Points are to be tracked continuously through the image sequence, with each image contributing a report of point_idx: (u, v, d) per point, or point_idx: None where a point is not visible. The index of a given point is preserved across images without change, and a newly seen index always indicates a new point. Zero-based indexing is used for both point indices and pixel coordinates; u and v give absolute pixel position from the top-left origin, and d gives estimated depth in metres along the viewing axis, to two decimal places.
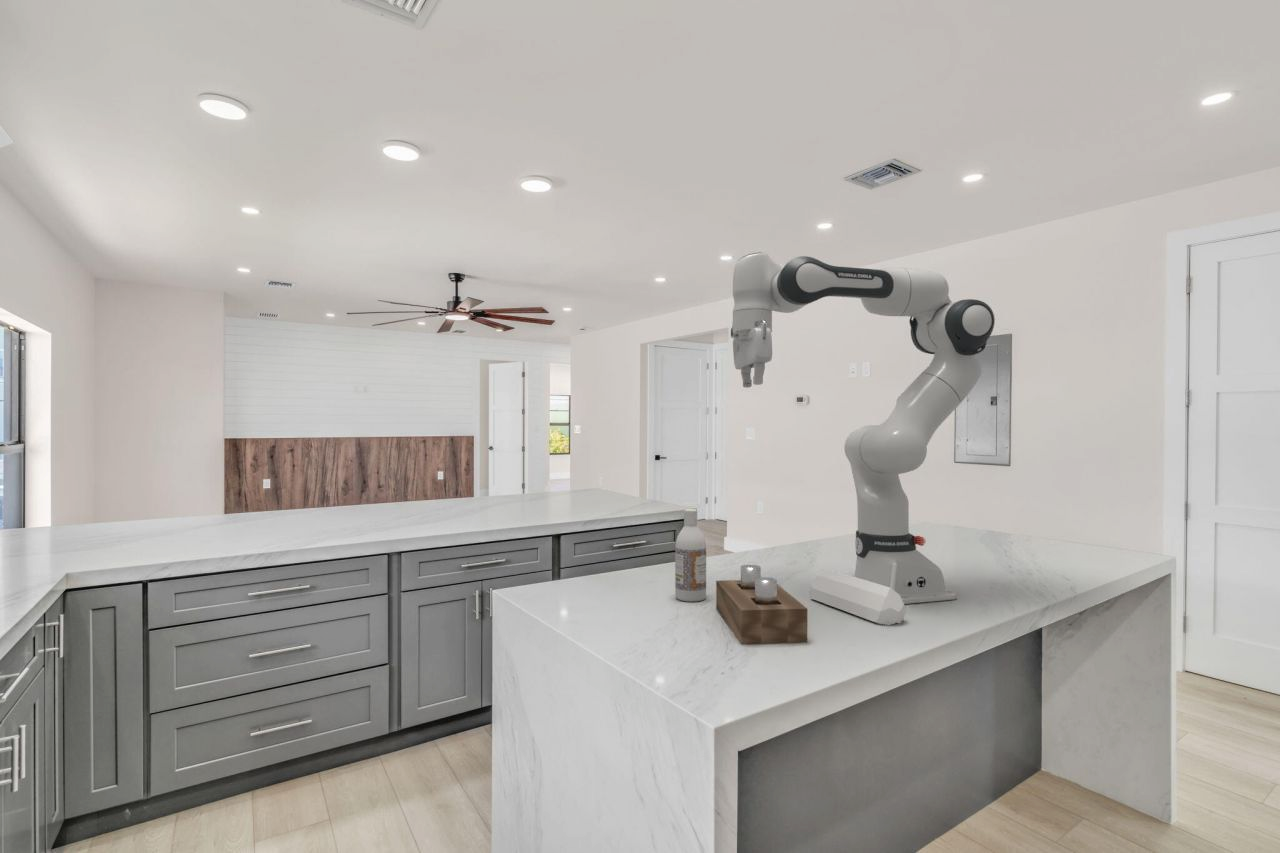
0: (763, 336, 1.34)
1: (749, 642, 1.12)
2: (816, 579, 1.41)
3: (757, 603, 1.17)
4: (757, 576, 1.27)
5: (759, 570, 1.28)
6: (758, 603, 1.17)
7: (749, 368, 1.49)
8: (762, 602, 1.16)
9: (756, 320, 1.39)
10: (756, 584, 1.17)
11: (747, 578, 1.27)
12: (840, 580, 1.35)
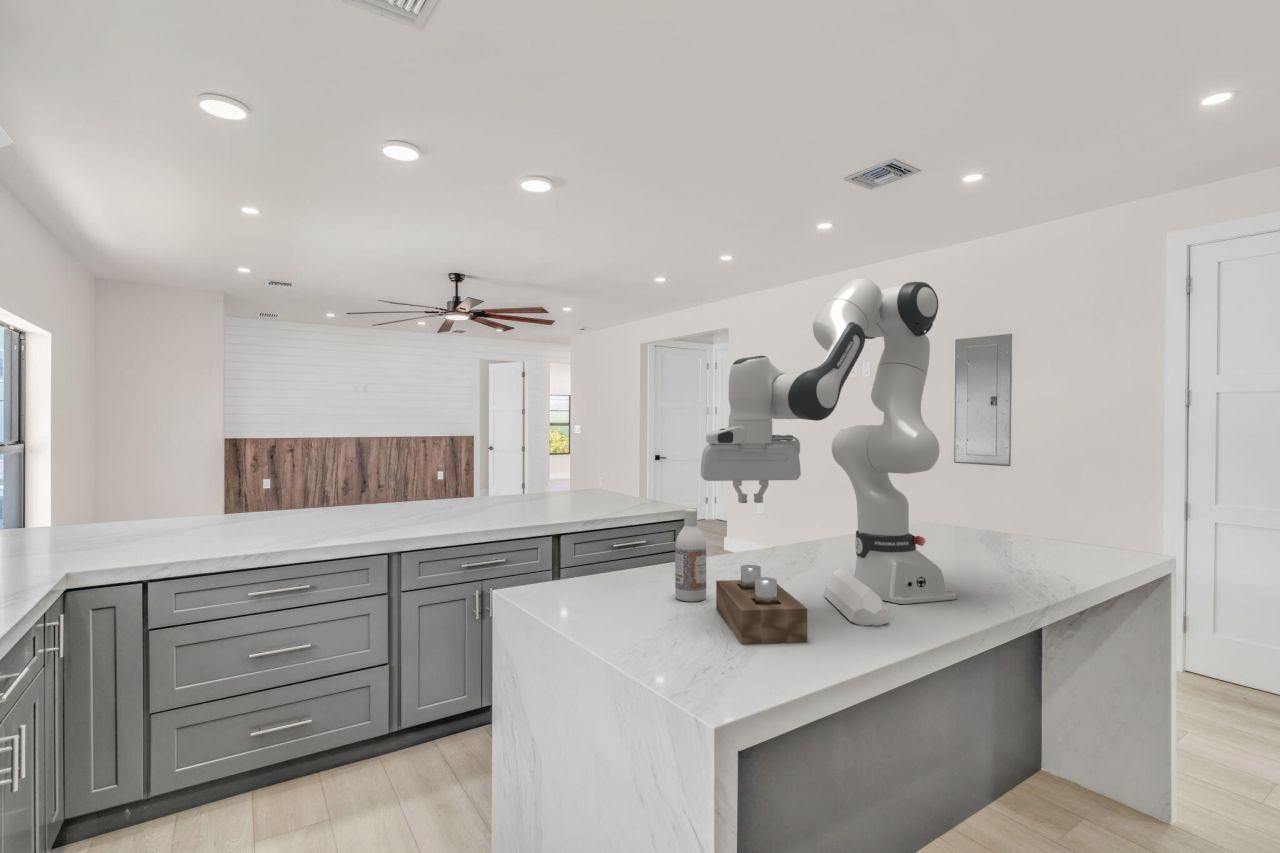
0: (798, 454, 1.29)
1: (749, 642, 1.12)
2: (830, 577, 1.43)
3: (757, 603, 1.17)
4: (757, 576, 1.27)
5: (759, 570, 1.28)
6: (758, 603, 1.17)
7: None
8: (762, 602, 1.16)
9: None
10: (756, 584, 1.17)
11: (747, 578, 1.27)
12: (843, 579, 1.36)
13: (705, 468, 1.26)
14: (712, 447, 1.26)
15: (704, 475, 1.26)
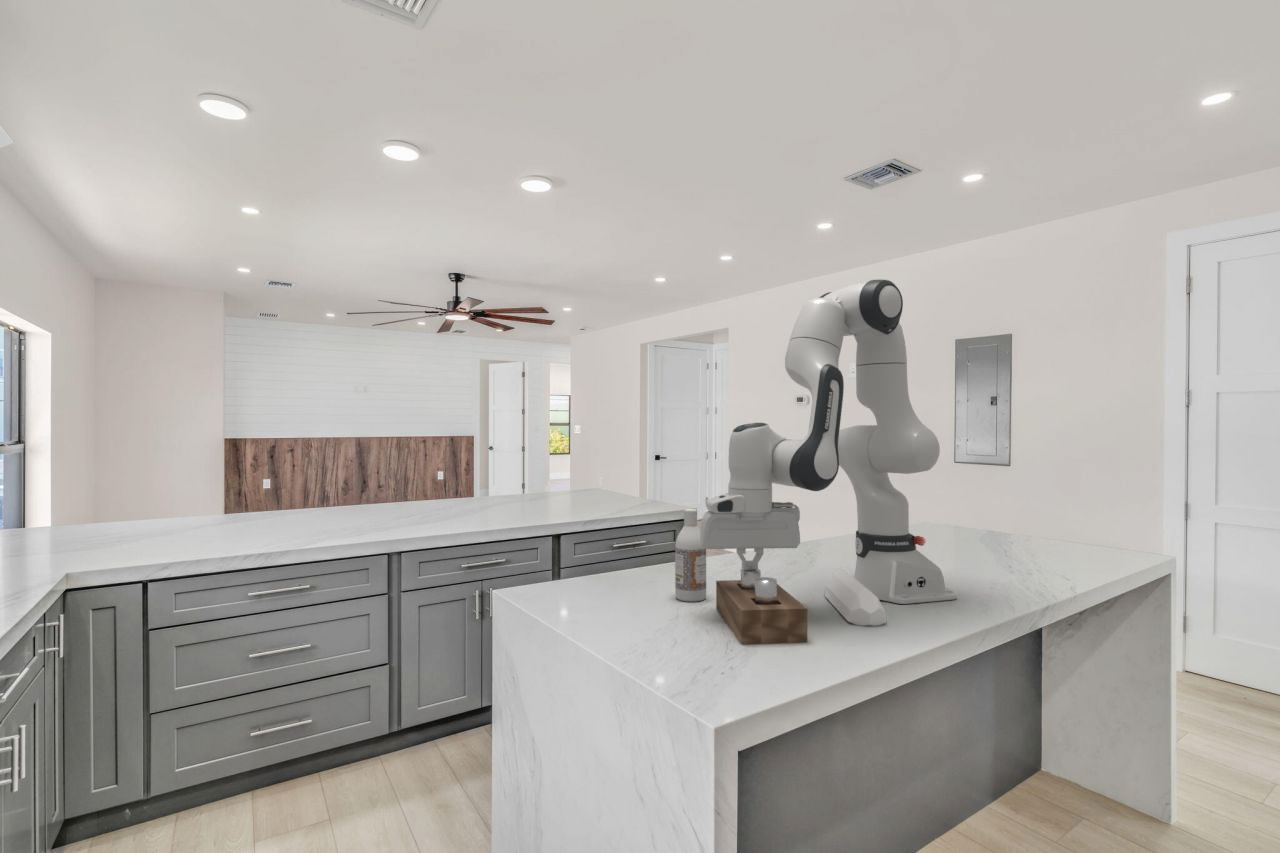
0: (797, 521, 1.29)
1: (749, 642, 1.12)
2: (831, 577, 1.43)
3: (757, 603, 1.17)
4: None
5: (759, 573, 1.28)
6: (758, 603, 1.17)
7: None
8: (762, 602, 1.16)
9: None
10: (756, 584, 1.17)
11: (747, 582, 1.27)
12: (843, 579, 1.36)
13: (704, 536, 1.26)
14: (712, 516, 1.26)
15: (703, 543, 1.26)
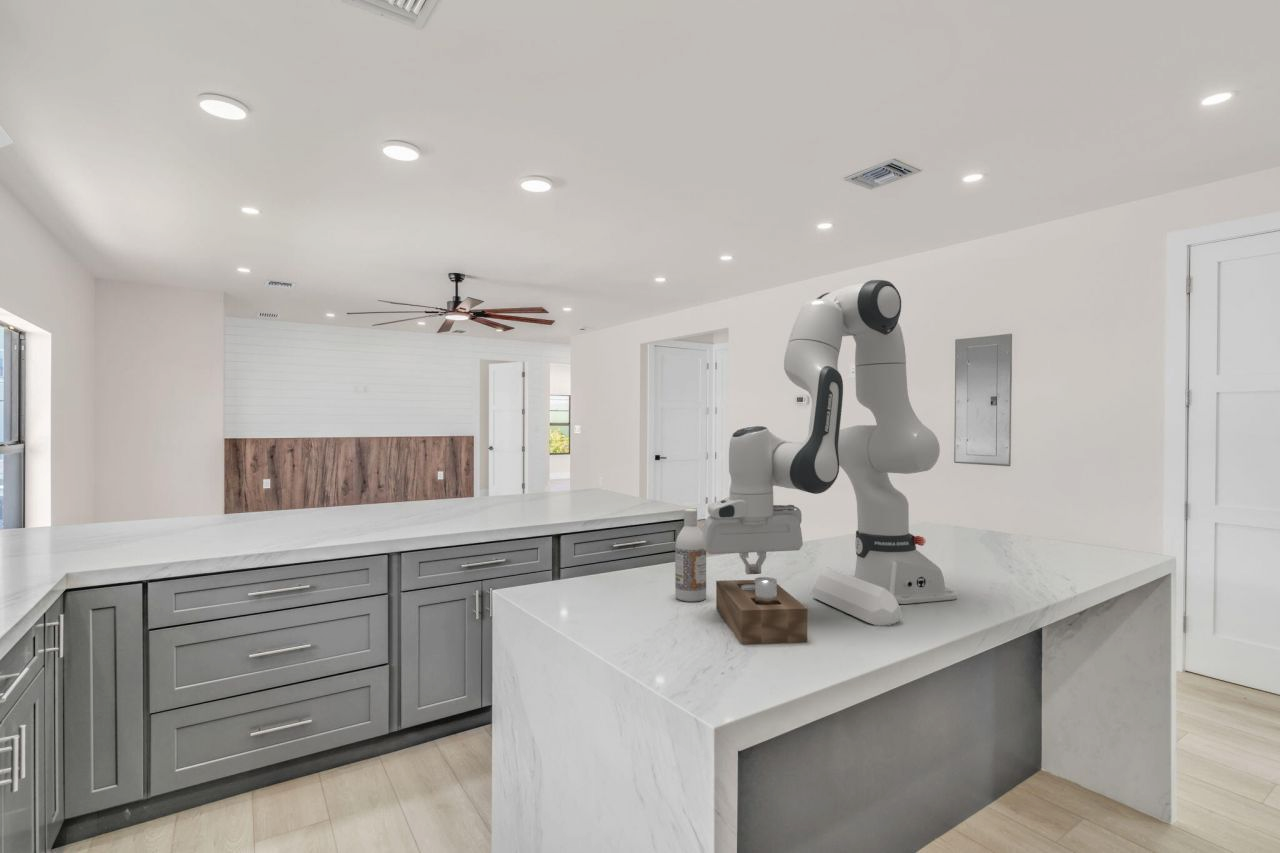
0: (799, 523, 1.30)
1: (749, 642, 1.12)
2: (819, 578, 1.41)
3: (757, 603, 1.17)
4: None
5: None
6: (758, 603, 1.17)
7: None
8: (762, 602, 1.16)
9: None
10: (756, 584, 1.17)
11: None
12: (840, 580, 1.35)
13: (707, 542, 1.26)
14: (714, 521, 1.26)
15: (706, 549, 1.27)
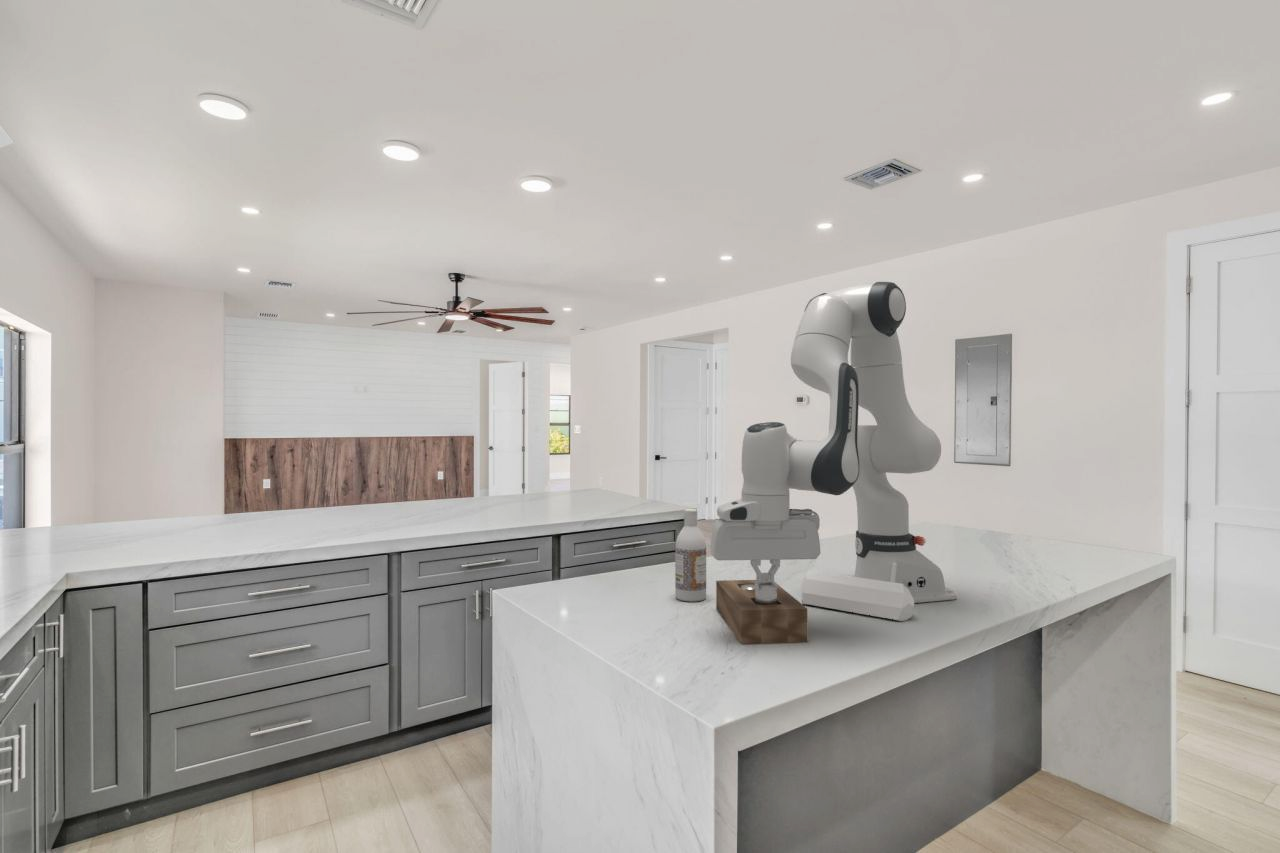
0: None
1: (749, 642, 1.12)
2: (807, 583, 1.37)
3: None
4: None
5: None
6: None
7: None
8: None
9: None
10: (756, 588, 1.17)
11: None
12: (840, 582, 1.34)
13: (716, 547, 1.15)
14: (724, 524, 1.15)
15: (715, 554, 1.15)
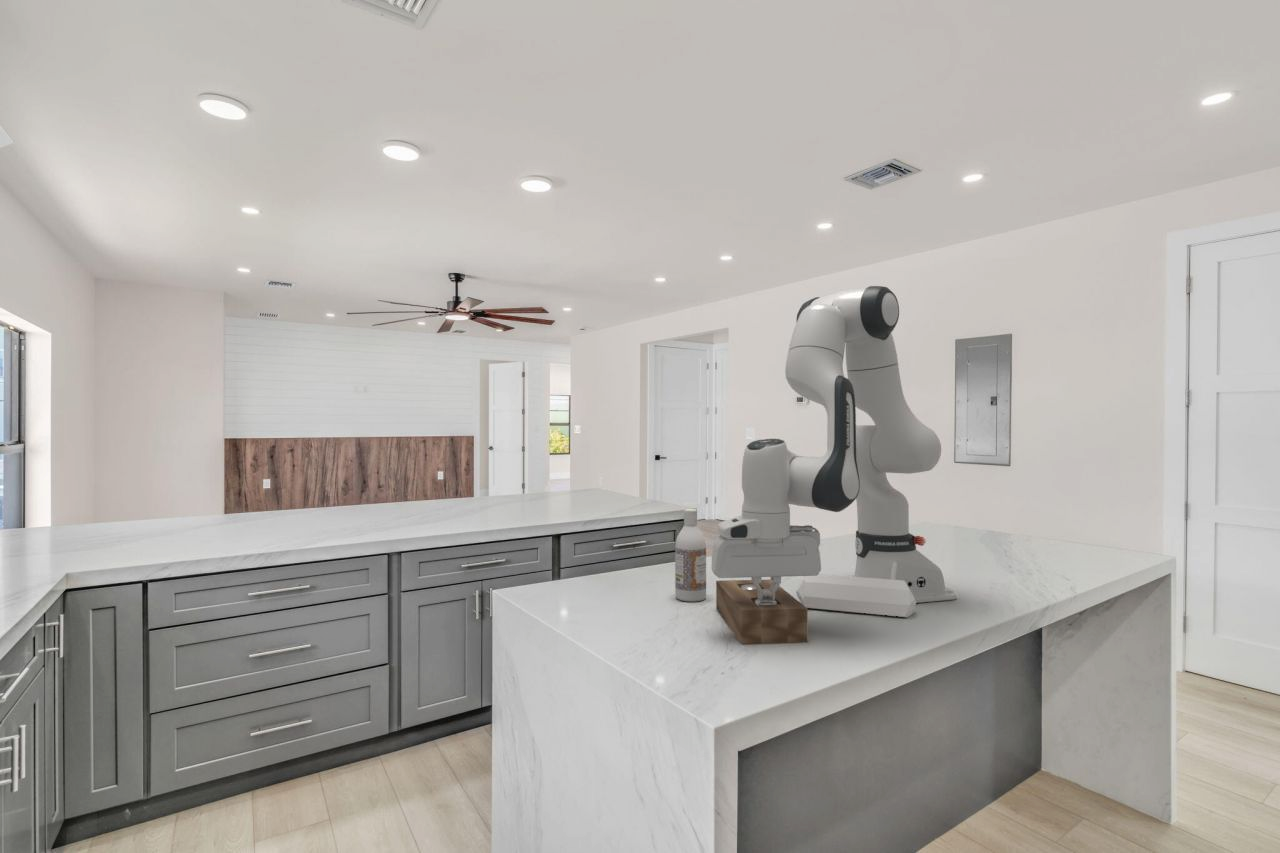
0: (818, 546, 1.18)
1: (749, 642, 1.12)
2: (807, 586, 1.34)
3: None
4: None
5: None
6: None
7: None
8: None
9: None
10: None
11: None
12: (841, 583, 1.33)
13: (717, 565, 1.15)
14: (724, 542, 1.15)
15: (716, 572, 1.15)
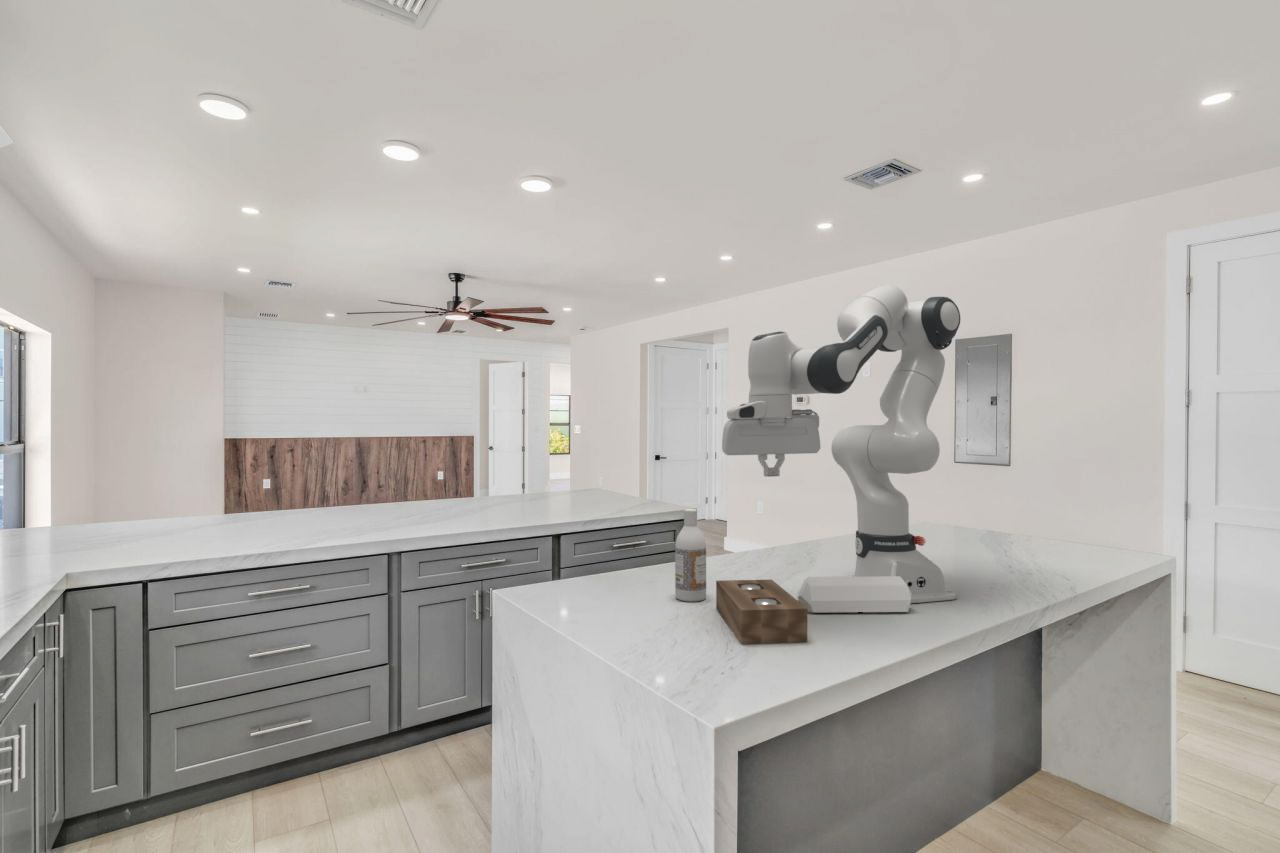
0: None
1: (749, 642, 1.12)
2: (813, 590, 1.31)
3: None
4: None
5: None
6: None
7: None
8: None
9: None
10: None
11: None
12: (844, 584, 1.32)
13: (727, 443, 1.28)
14: (734, 422, 1.28)
15: (726, 450, 1.29)
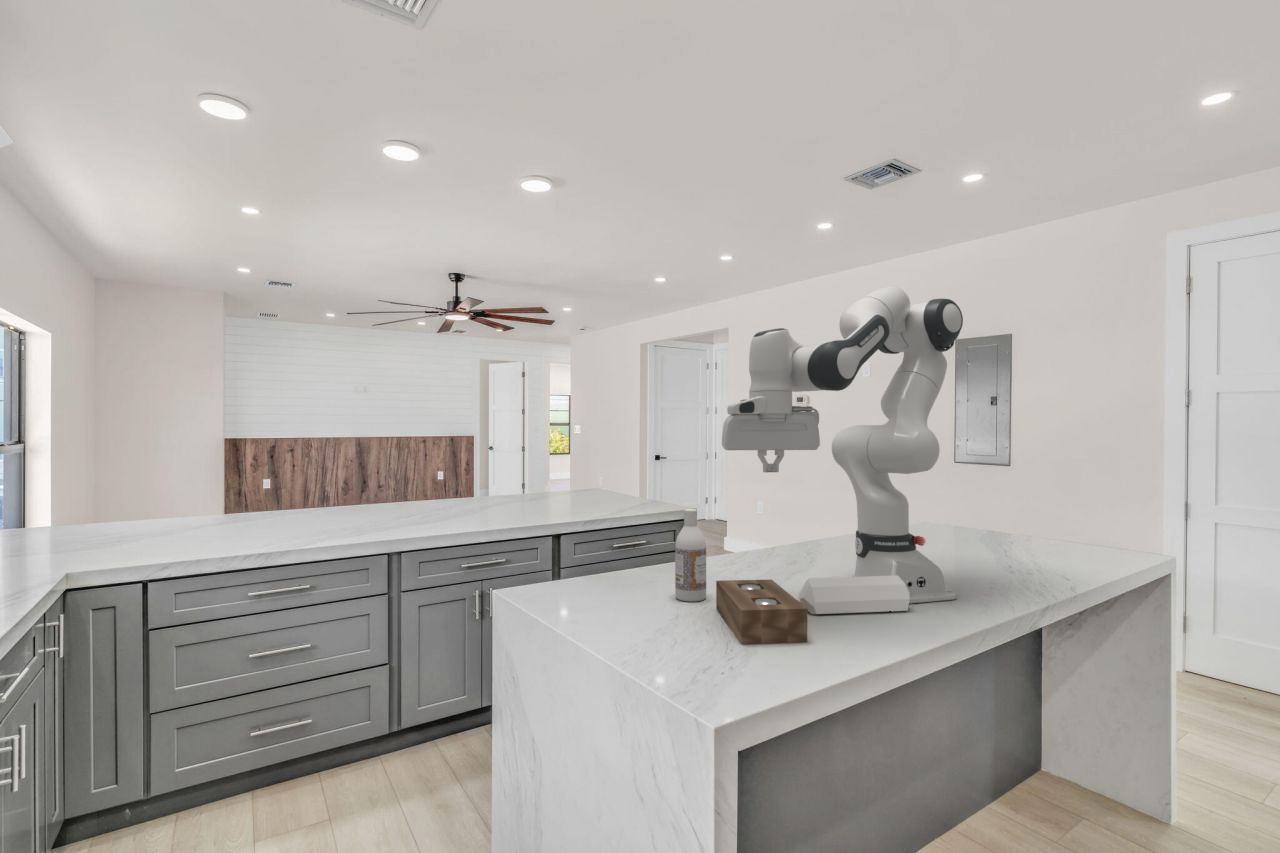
0: None
1: (749, 642, 1.12)
2: (815, 592, 1.30)
3: None
4: None
5: None
6: None
7: None
8: None
9: None
10: None
11: None
12: (845, 584, 1.32)
13: (727, 438, 1.29)
14: (734, 417, 1.29)
15: (726, 445, 1.29)
